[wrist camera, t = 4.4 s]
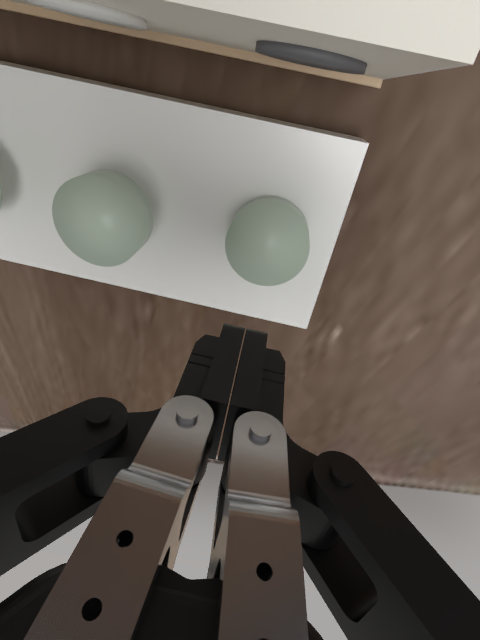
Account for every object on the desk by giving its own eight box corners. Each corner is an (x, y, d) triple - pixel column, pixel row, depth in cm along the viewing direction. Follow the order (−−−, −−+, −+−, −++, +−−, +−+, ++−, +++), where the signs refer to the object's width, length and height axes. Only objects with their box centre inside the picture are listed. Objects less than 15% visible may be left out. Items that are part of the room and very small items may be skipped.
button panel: (-18, 234, 29) (-48, 247, 26) (-58, 47, 22) (-103, 42, 20) (305, 307, 28) (306, 328, 26) (361, 137, 22) (368, 143, 19)
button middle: (75, 243, 22) (56, 256, 21) (69, 160, 20) (47, 166, 18) (151, 261, 22) (139, 275, 20) (155, 179, 20) (141, 187, 18)
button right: (225, 263, 24) (219, 276, 22) (237, 187, 21) (232, 196, 19) (297, 279, 24) (297, 293, 22) (319, 205, 21) (320, 215, 19)
